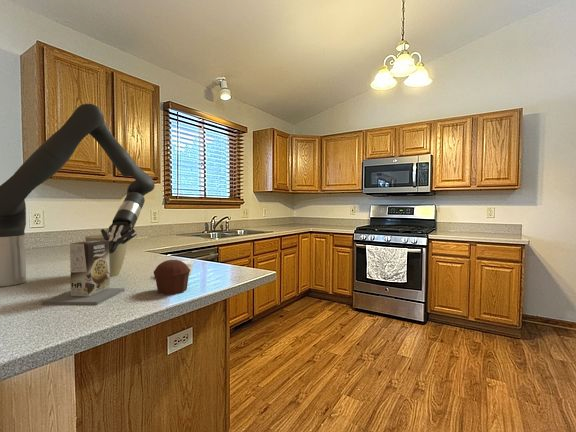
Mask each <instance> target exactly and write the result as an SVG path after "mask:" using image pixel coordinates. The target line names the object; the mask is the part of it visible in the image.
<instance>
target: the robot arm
mask: <svg viewBox="0 0 576 432" xmlns="http://www.w3.org/2000/svg"><path fill="white" fill-rule="evenodd" d="M88 135H90V136H91V137H92V138H93V139H94V140H95V141H96V142H97V143H98V145H99V146H100V147H101V149H102V150H103V151H104V153H106V156H107V157H108V159H109V160H110V161H111V163H112V164H113V165H114V167H115V168H116V169H117V171H118V172H119V173H120V175H121V176H122V177H124V178H128V177H131V178H133V179H134V180H133V181H132V182H131V183H130V184H129V185H128V187H127V190H126V196H125V198H124V200H123V202H122V203H121V205H120V206H119V207H118V210H117V211H116V213H115V215H114V217H113V219H112V223H111V224H110V225H109V226H108V228H106V229H105V228H101V230H100V232H101V234H102V235H103V237H104V239H105V240H109V253H113V252H115V250H116V248H117V246H118V245H119V244H121V243H122V244H125V243H126V242H127V241H128V242H129V241H131V240H132V239H133V238H135V237H136V236H137V235H138V234H137V231H136V230H135V229H134V227H136V223H137V221H138V219H139V217H140V214H141V211H142V209H143V207H144V204H145V200H146V199H145V197H144V196H145V195H147V194H149V193H150V192H152V191H153V190H154V189H155V186H156V185H155V181H154V180H153V178H152V177H151V176H150V175H149V174H148V173H146V172H145V171H144V170H143V169H142V168H141V167H139V166H138V165H137V163H136V162H135V161H134V160H133V158H132V157H131V155H130V154H129V153H128V151H127V150H126V149H125V148H124V146H122V145H121V144H120V142H119V141H117V139H116V138H115V137H114V135H113V134H112V133H111V130H110V129H109V127H108V125H107V123H106V121H105V117H104V114H103V110H101V109H100V107H98V106H97V105H95V104H93V103H83V104H79V106H77V108H75V110H74V112H73V113H72V114H71V115H70V117H68V119H67V120H66V121H65V122H64V124H63V125H62V126H61V127H60V128H59V129H57V130H56V132H54V133H53V134H51V136H49V138H47V139H46V140H45V141H44V142H43V143H42V144H40V145H39V147H38V148H37V149H35V151H34V152H32V154H31V155H30V156H29V157H28V158H26V160H25V161H24V162H23V163H22V164H21V165H20V167H19V168H18V169H17V170H16V171H15V172H14V173H13V175H11V176H10V177H9V178H8V179H6V180H5V182H3V183H2V184H1V185H0V287H10V286H16V285H20V284H24V283H26V282H27V263H26V260H27V259H26V238H25V237H26V236H25V230H26V225H27V208H26V207H27V206H26V201H25V200H26V198H27V197H28V196H29V195H30V194H31V193H32V191H34V190H35V189H36V188H37V187H39V186H40V185H41V184H43V183H44V182H46V181H47V180H49V179H50V178H52V177H53V176H54V175H56V173H58V172H59V171H60V170H61V169H62V168H63V167H64V165H65V164H67V162H68V161H69V160H70V158H71V157H72V155H74V153H75V152H76V151H75V150H76V149H77V148H78V146H79V145H80V143H81V142H82V141H83V140H84V138H86V137H87V136H88ZM109 234H110V238H109V237H108V236H109ZM126 237H127V238H126ZM125 238H126V239H125ZM124 239H125V240H124Z"/></svg>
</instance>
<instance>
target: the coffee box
mask: <svg viewBox="0 0 576 432" xmlns="http://www.w3.org/2000/svg"><path fill="white" fill-rule="evenodd" d="M69 249H70V250H69V259H70V261H69V264H70V267H69V268H70V290H71V296H84V297H89V296H92V295H95V294H97V293H100V292H103V291H105V290H108V289H110V288H111V277H110V266H109V240H91V241H86V240H84V241H78V242H77V241H76V242H71V243H70V242H69Z"/></svg>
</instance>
